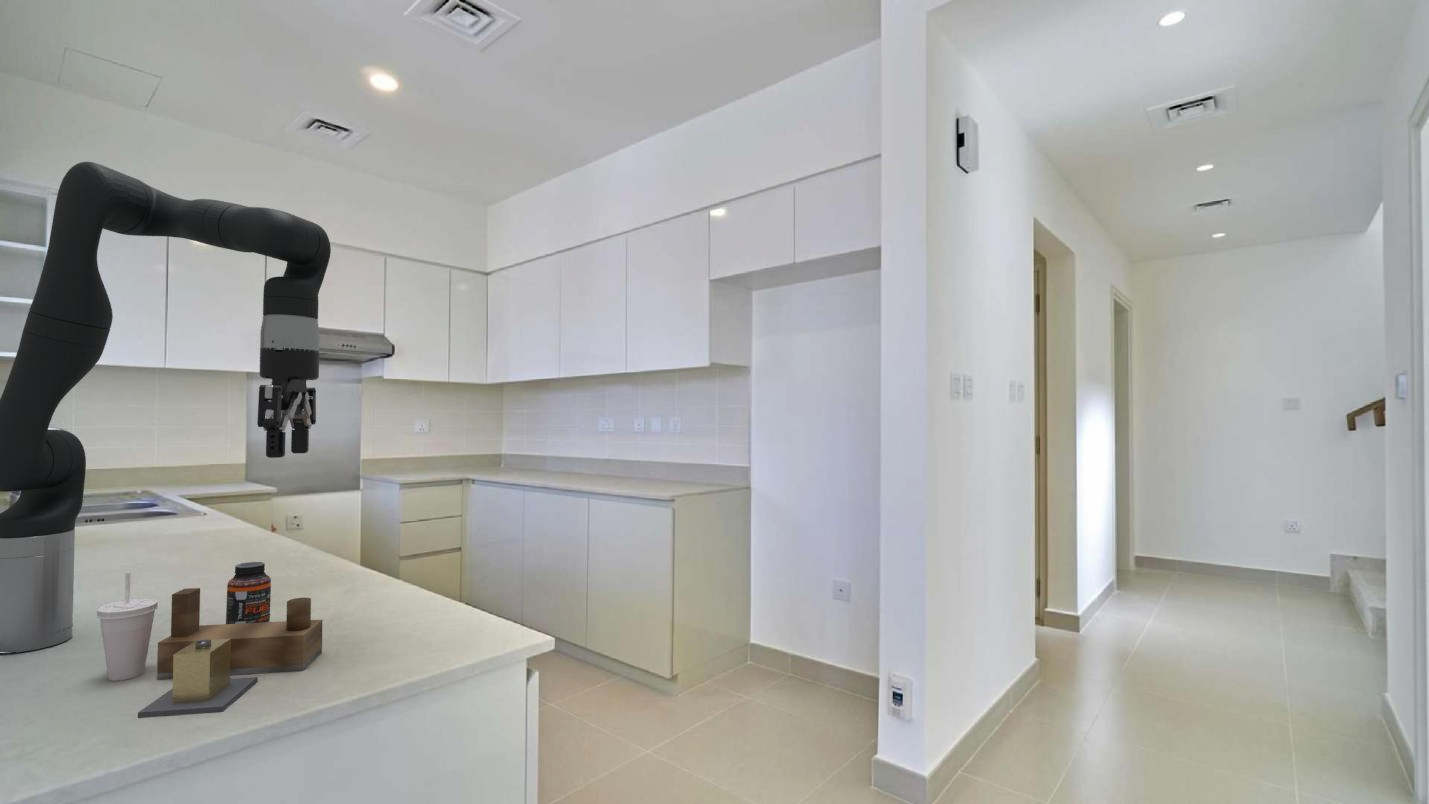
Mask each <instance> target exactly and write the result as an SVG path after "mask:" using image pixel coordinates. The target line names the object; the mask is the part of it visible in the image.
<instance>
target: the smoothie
mask: <svg viewBox="0 0 1429 804" xmlns="http://www.w3.org/2000/svg"><path fill="white" fill-rule="evenodd" d="M124 574H125V577H124V578H125V580H124V600H120V601H115V602H111V603H108V604H104V605H102V606H100V607H98V608H97V610H96V618H97V619H99V621H100V630H101V636H102V643H103V650H104V656H105V664H106V672H107V679H108V680H109V681H123V680H129V679H134V678H136V677H139V676H141V675H144V673H145V669H146V663H147V659H148V658H147V656H148V652H149V646H150V641H151V635H152V630H153V622H154V618H155V611H157V610H158V609H159V605H158V603H159V602H158V600H157V599H153V598H134V599H131V581H132V580H131V577H132V576H131V572H125V573H124Z"/></svg>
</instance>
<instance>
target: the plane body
mask: <svg viewBox="0 0 1429 804" xmlns="http://www.w3.org/2000/svg"><path fill="white" fill-rule="evenodd" d="M200 609H201V588H200V587H194V588H193V587H192V588H191V587H190V588H182V589H181V590H178V591H176V592H174V593H172V594H171V616H170V617H171V618H170V619H171V621H170V635H169V636H167V637H165V638H164V639H162V640H160V641H159V642H157V661H156V663H157V666H156V667H157V668H156V669H157V670H156V681H157V680H158V681H159V680H171V679H172V680H173V655H174V654H175V653H177V652H178V651H180V650H182V649H183V648H185V647H187V646H188V645H190V644H192V643H193V642H195V641H197V640H206V639H209V640H215V639H231V659H230V676H233V675H234V676H235V675H237V676H238V675H251V674H265V673H266V674H269V673H281V672H282V673H286V672H299V671H305V669H307V668H308V667H309V666H310V664H312V662H313V661H315V660H316V659H317V658H318V657H319V656H320V655H321V654H322V652H323V619H312V617H311V616H312V598H311V597H297V598H295V597H294V598H291V599H289V600H286V620H285V621H283V620H282V621H270V622H262V623H241V624H226V623H223V624H205V625H203V624H202V625H201V624H200V617H201V616H200V611H201V610H200Z"/></svg>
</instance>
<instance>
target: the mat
mask: <svg viewBox="0 0 1429 804" xmlns="http://www.w3.org/2000/svg"><path fill="white" fill-rule="evenodd" d="M258 681H259V677H258V676H254V677H253V676H252V677H237V678H236V677H235V678H230V684H229V685H228V686H227V687H226V688H224V689H223V690H222V691H221V692H219V693H218V694H217V695H216V696H214V697H213V698H212V699H211V700H209V701H197V702H182V703H172V699H173V687H172V688H171V689H170V690H168V691H166V692H165V693H164V694H163V695H161V696H160V697H158V698H157V699H155V700H154V701H152V702H151V703H150V704H148V705H146V706H145V707H144V708H142V709H140V711H138V712H137V718H149V717H151V718H152V717H162V716H164V717H165V716H175V715H176V716H178V715H190V714H205V713H217V712H224V711H225V710H226V709H227V708H228V707H229V706H231V705H232V704H234V702H236V701H237V700H238V699H240V697H241V696H243V695H244V693H246V692H247V691H248V690H250V689H251V688H252V687H253V686H254V685H256V683H257V682H258Z"/></svg>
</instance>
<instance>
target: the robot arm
mask: <svg viewBox="0 0 1429 804" xmlns="http://www.w3.org/2000/svg"><path fill="white" fill-rule="evenodd" d="M52 216H53V217H52V223H51V228H50V234H49V235H50V236H49V240H48V246H47V247H48V248H47V251H46V254H45V255H46V256H45V258H44V259H45V260H44V264H43V266H42V271H41V274H40V277H39V281H38V284H37V286H36V290H35V294H34V297H33V300H32V302H31V305H30V308H29V310H28V313H27V317H26V320H25V323H24V327H23V330H22V333H21V338H20V341H19V346H18V348H17V352H16V354H15V358H14V361H13V363H12V367H11V369H10V371H9V375H8V377H7V380H6V384H5V386H4V389H3V391H2V394H1V396H0V493H2V492H3V493H9V492H10V493H12V492H20V493H19V496H18V498H17V500H16V501H15V502H14V503H13V504H12V505H11V506H10V507H9V508H7V509H5V510H4V511H2V512H1V513H0V652H16V653H21V652H30V651H34V650H40V649H43V648H45V649H46V648H47V647H53V646H56V645H58V644H61V643H63V642H67V641H68V640H70V639H71V638H72V637H73V626H74V625H73V624H74V623H73V613H74V587H75V586H74V581H75V575H74V574H75V539H76V537H75V535H76V533H75V532H76V519H78V518H77V517H78V516H79V515H80V512H81V510H82V507H83V502H84V491H85V482H86V481H85V479H86V467H87V459H86V457H87V456H86V452H85V448H84V445H83V443H82V442H81V440H80V439H79V437H77V436H76V435H75V434H73V433H71V432H69V431H67V430H64V429H57V428H56V429H49V426H50V423H51V422H52V419H53V415H54V413H55V411H56V410H57V407H59V404H60V403H61V402H62V400H63V399H64V398H65V396H67V394H69V392H71V390H72V389H73V388H74V387H75V386H76V385H77V384H78V383H80V382H81V380H82V379H84V377H86V376H87V375H88V373H89V372H90V371H91V370H93V368H94V367H95V366H96V364H98V362H99V361H100V358H101V357H102V355H103V353H104V350H105V348H106V345H107V341H108V338H109V335H110V332H111V328H112V324H113V318H114V315H113V309H112V308H113V307H112V304H111V302H110V301H111V300H110V298H109V297H110V296H108V292H107V289H106V288H105V285H104V282H103V280H102V276H101V273H100V270H99V264H98V249H99V246H100V240H101V236H102V232H103V230H106V231H109V232H112V233H116V234H119V235H125V236H134V237H137V236H139V237H168V238H179V239H186V240H189V241H193V242H198V243H200V244H205V245H209V246H213V247H216V248H222V249H224V250H225V249H226V250H229V251H230V250H231V251H234V252H235V251H236V252H241V253H253V254H256V255H257V254H258V255H261V256H265V257H268V258H272V259H276V260H278V261H283V262H286V267H285V270H284V273H283V275H282V276H281V275H280V276H274V277H273V276H272V277H270V278H268V279H267V280H266V281H265V283H264V285H263V292H262V293H263V295H262V296H263V297H262V298H263V299H262V322H261V326H260V337H259V338H260V339H259V342H260V344H259V347H260V348H259V377H260V378H262V379H266V380H271V384H260V385H259V388H258V406H257V407H258V408H257V421H256V422H257V427H259V428H262V429H263V431H264V432H265V433H266V436H265V438H266V439H265V442H266V443H265V456H266V457H267V458H270V459H273V458H274V459H275V458H277V459H278V458H284V457H285V456H286V428H287V427H288V423H290V426H291V436H290V437H291V439H290V440H291V441H290V442H291V443H290V445H291V446H290V447H291V448H290V449H291V450H290V451H291V453H293V454H307V453H309V445H310V444H309V441H310V440H309V439H310V435H309V434H310V433H309V432H310V430H311V429H312V426H313V425H314V426H315V425H316V423H317V408H316V407H317V404H316V403H317V390H316V387H308V386H307V381H316V380H318V379H319V377H320V328H319V293H320V290H321V288H322V284H323V282H324V280H325V279H324V278H325V275H326V273H327V269H328V265H329V262H330V259H331V253H332V252H331V250H332V249H331V247H332V246H331V242H330V238H329V235H328V234H327V232H326V231H325V229H324V228H323V227H322V226H320V225H319V224H318V223H315V222H313V221H310V220H307V219H305V218H303V217H301V216H300V217H299V216H297V215H294V214H292V213H289V212H286V211H283V210H279V209H275V208H271V207H263V206H262V207H259V206H258V207H257V206H247V205H243V204H238V203H234V202H229V201H224V200H223V201H222V200H217V199H212V198H211V199H209V198H198V199H191V200H189V199H184V198H180V197H177V196H173V195H172V194H169V193H167V192H164V191H161V190H160V189H158V188H155V187H153V186H150V185H149V184H147V183H145V182H143V180H140V179H138V178H135V177H133V176H130V175H128V174H125V173H123V172H120V171H117V170H115V169H113V168H110V167H108V166H105V165H104V164H103V165H102V164H100V163H98V162H97V163H96V162H93V161H81V162H79V163H76V164H74V165H73V166H71V168H69V169H68V170H67V172H66V173H65V175H64V176H63V178H62V180H61V183H60V184H59V188H58V191H57V196H56V199H55V205H54V209H53V215H52Z"/></svg>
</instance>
